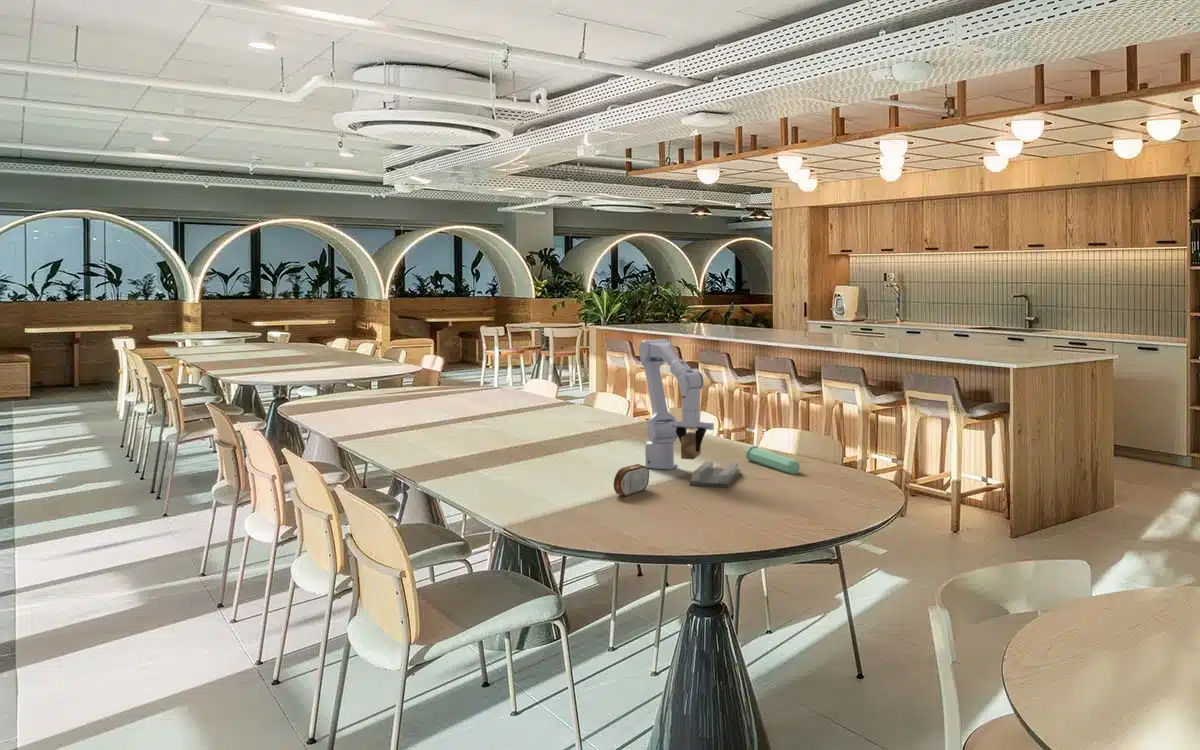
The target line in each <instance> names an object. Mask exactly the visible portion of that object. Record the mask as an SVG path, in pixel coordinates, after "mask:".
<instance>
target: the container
mask: <svg viewBox="0 0 1200 750" xmlns="http://www.w3.org/2000/svg"><path fill="white" fill-rule="evenodd" d="M745 458H746V459H747V461H748V462H750V463H751V462H753V463H755V464H756V463H757V464H759V465H761V466H765V467H768V468H771V469H774V470H777V471H780V472H783V473H785V474H790V475H796V474H798V472H800V470H801V469H800V468H801V466H800V465H801V464H800V463H799V462H798V461H797V460H795V459H793V458H790V457H787V456H784V455H780V454H778V453H774V452H771V451H768V450H765V449H762V448H759V447H758V446H756V445H754V446H749V447H748V448H747V450H746V451H745Z"/></svg>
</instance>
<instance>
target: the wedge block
mask: <svg viewBox="0 0 1200 750" xmlns="http://www.w3.org/2000/svg"><path fill="white" fill-rule="evenodd" d="M701 447H702V446H700V451H699V452H696V431H695V432H693V431H689V432H686V434H685V435H684V436H682V437H681V442H680V459H682V460H695V459H696V458H697V457H698V456H700V455H701V454H702V451H701V449H702V448H701Z"/></svg>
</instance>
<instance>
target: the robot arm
mask: <svg viewBox="0 0 1200 750" xmlns="http://www.w3.org/2000/svg"><path fill="white" fill-rule="evenodd" d="M638 355H639V359H640V362H641V363H640V364H641V366H643V367H644V372H645V379H646V384H647V388H648V394H649V399H650V405H651V411H652V415H651V416H650V417H649V418H648V420H647V421H646V424H647V425H646V426H647V429H646V433H647V437H648V439H649V440H647V442H646V444H645V453H644V454H645V455H644V456H645V466H646V467H647V468H648V469H656V470H657V469H658V470H673V469H674V468H675V467H676V466H678V463H675V459H674V458H675V456H674V455H675V451H674V449H675V446H674V445H675V442H676V441H677V440H676V439H679V442H680V443H681V437H682V436H684V435H685V434H687V429H689V430H690V429H691V430H695V432H696V452H699V451H700V446H701V445H702V442H703V439H704V437H705V434H706V432H707V430H709V431H713V430H714V428H715V427H714V425H715V424H714V423H713V422H704V421H703V422H702V421H701V404H700V403H701V402H700V401H701V396H700V395H701V389H702V388H703V386H704V377H703V374H702V373H701V372H700V371H698V370H697V371H696V370H693V368H692V367H690V365H689V364H688V363H687V362H686V361H685V359H681V358H678V357H677V355H676V354H675V352H674V351H673V349H672V343H671V342H670V341H669V339H667V338H663V339H643V340H641V342H640V344H639V347H638ZM665 363H666V364H667V365H669V371H670V373H671V374H672V375H673V376H674V377H675V379H676V380H677V381H678V382H677V383H678V387H679V392H680V393H679V394H680V395H681V409H682V410H681V421H676V417H675V415H673V414H671V413H670V412H668V406H667V401H666V396H665V389H664V385H663V380H662V375H661V369H660V368H661V366H664V365H665ZM701 447H702V446H701Z"/></svg>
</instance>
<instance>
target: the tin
mask: <svg viewBox="0 0 1200 750" xmlns="http://www.w3.org/2000/svg"><path fill="white" fill-rule="evenodd" d="M649 480H650V470H649V468H647V467H646V465H641V464H640V463H636V464H633V465H628V466H624V467H622V468H620V469H619V470H618V471H616V473H615V476H614V479H613V490H614V492H615V493H616V494H617V495H618V496H623V497H625V496H626V497H629V496H631V495H635V494H638V493H640V492H643V491H645V490H646V488H647V486H648V484H649Z"/></svg>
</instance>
